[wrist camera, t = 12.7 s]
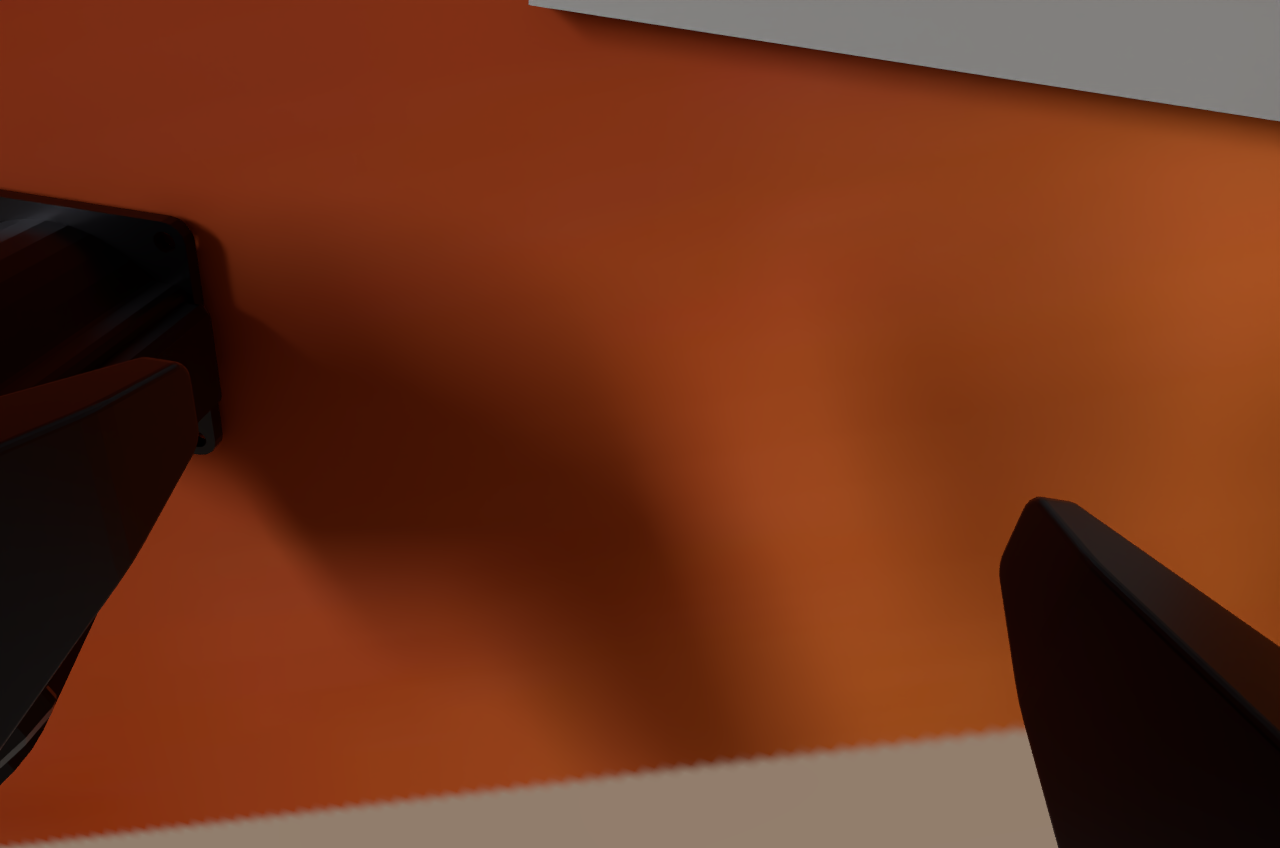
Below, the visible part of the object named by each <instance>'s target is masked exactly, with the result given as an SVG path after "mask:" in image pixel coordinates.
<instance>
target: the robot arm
mask: <svg viewBox="0 0 1280 848" xmlns="http://www.w3.org/2000/svg"><path fill="white" fill-rule="evenodd" d="M163 232H165V233H167V234H169V235H170V236H171V237H172V238H173V240H174V242H175V247H174V246H171V245H169V244H168V243H167V242H166V241H165V239H164V237H163ZM221 397H222V395H221V388H220V381H219V374H218V367H217V360H216V353H215V346H214V339H213V331H212V324H211V317H210V314H209V313H208V311H207V310H206V308H205V307H204V303H203V296H202V289H201V282H200V275H199V268H198V261H197V254H196V248H195V241H194V237H193V234H192V232H191V230H190V229H189V228H188V226H187V225H186V224H185V223H183V222H182V221H181V220H179V219H177V218H174V217H171V216H166V215H160V214H153V213H147V212H141V211H134V210H128V209H121V208H115V207H108V206H102V205H95V204H89V203H83V202H76V201H70V200H63V199H57V198H50V197H44V196H37V195H31V194H25V193H18V192H12V191H5V190H0V785H1V784H2V783H3V782H4V781H5V780H6V779H7V778H8V777H9V776H10V775H11V774H12V773H13V772H14V771H15V770H16V768H17V767H18V766H19V765H20V763H21V762H22V761H23V760H24V758H25V757H26V756H27V755H28V753H29V752H30V751H31V750H32V748H33V747H34V745H35V743H36V742H37V740H38V738H39V736H40V735H41V733H42V731H43V730H44V727H45V725H46V723H47V721H48V719H49V717H50V715H51V713H52V711H53V708H54V706H55V704H56V702H57V699H58V697H59V695H60V693H61V691H62V689H63V687H64V684H65V682H66V680H67V678H68V676H69V674H70V671H71V669H72V667H73V665H74V663H75V661H76V658H77V656H78V654H79V652H80V650H81V648H82V646H83V643H84V641H85V639H86V637H87V635H88V633H89V630H90V628H91V626H92V624H93V622H94V620H95V618H96V615H97V613H98V612H99V610H100V609H101V608H102V606H103V605H104V603H105V602H106V600H107V599H108V598H109V596H110V595H111V593H112V592H113V591H114V589H115V588H116V586H117V585H118V584H119V582H120V581H121V579H122V578H123V576H124V575H125V573H126V572H127V570H128V569H129V567H130V566H131V564H132V563H133V561H134V559H135V558H136V556H137V554H138V553H139V551H140V549H141V548H142V546H143V544H144V543H145V541H146V539H147V537H148V535H149V533H150V532H151V530H152V528H153V526H154V524H155V523H156V521H157V519H158V517H159V515H160V513H161V512H162V510H163V508H164V506H165V504H166V503H167V501H168V499H169V497H170V495H171V493H172V492H173V490H174V488H175V486H176V484H177V483H178V481H179V479H180V477H181V475H182V473H183V472H184V470H185V468H186V466H187V464H188V463H189V461H190V459H191V457H192V455H193V454H199V455H201V454H208V453H210V452H212V451H213V450H214V449H215V448H216V447H217V445H218V444H219V443H220V442H221V440H222V427H221V420H220V413H219V406H218V402H219V401H220V400H221ZM199 432H200V433H201V434H202V435H203V436H204V437H205V439H204V438H201V437H200V436H198V434H199ZM999 576H1000V584H1001V591H1002V598H1003V604H1004V611H1005V618H1006V624H1007V631H1008V638H1009V644H1010V651H1011V658H1012V664H1013V671H1014V678H1015V684H1016V689H1017V694H1018V700H1019V704H1020V708H1021V713H1022V717H1023V721H1024V725H1025V728H1026V732H1027V735H1028V739H1029V743H1030V746H1031V750H1032V754H1033V757H1034V761H1035V764H1036V768H1037V772H1038V775H1039V779H1040V783H1041V786H1042V790H1043V793H1044V797H1045V801H1046V805H1047V808H1048V812H1049V815H1050V819H1051V823H1052V826H1053V830H1054V834H1055V837H1056V841H1057V845H1058V848H1280V647H1279V646H1278V645H1276V644H1275V643H1273V642H1272V641H1270V640H1269V639H1268V638H1266V637H1265V636H1263V635H1262V634H1260V633H1259V632H1258V631H1256V630H1255V629H1253V628H1252V627H1251V626H1249V625H1248V624H1246V623H1245V622H1243V621H1242V620H1241V619H1239V618H1238V617H1236V616H1235V615H1233V614H1232V613H1231V612H1229V611H1228V610H1226V609H1225V608H1223V607H1222V606H1221V605H1219V604H1218V603H1216V602H1215V601H1214V600H1212V599H1211V598H1209V597H1208V596H1206V595H1205V594H1204V593H1202V592H1201V591H1199V590H1198V589H1196V588H1195V587H1194V586H1192V585H1191V584H1189V583H1188V582H1186V581H1185V580H1184V579H1182V578H1181V577H1179V576H1178V575H1177V574H1175V573H1174V572H1172V571H1171V570H1169V569H1168V568H1167V567H1165V566H1164V565H1162V564H1161V563H1159V562H1158V561H1157V560H1155V559H1154V558H1152V557H1151V556H1149V555H1148V554H1147V553H1145V552H1144V551H1142V550H1141V549H1140V548H1138V547H1137V546H1135V545H1134V544H1132V543H1131V542H1130V541H1128V540H1127V539H1125V538H1124V537H1122V536H1121V535H1120V534H1118V533H1117V532H1115V531H1114V530H1112V529H1111V528H1110V527H1108V526H1107V525H1105V524H1104V523H1103V522H1101V521H1100V520H1098V519H1097V518H1095V517H1094V516H1093V515H1091V514H1090V513H1088V512H1087V511H1085V510H1084V509H1083V508H1081V507H1080V506H1078V505H1077V504H1075V503H1073V502H1070V501H1064V500H1058V499H1051V498H1045V497H1036V498H1033V499H1031V500H1030V501H1029V502H1028V503H1027V504H1026V506H1025V507H1024V509H1023V511H1022V513H1021V515H1020V518H1019V520H1018V522H1017V524H1016V526H1015V529H1014V531H1013V533H1012V535H1011V537H1010V539H1009V542H1008V544H1007V546H1006V548H1005V550H1004V553H1003V555H1002V558H1001V562H1000V570H999Z"/></svg>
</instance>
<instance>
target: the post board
mask: <svg viewBox="0 0 1280 848" xmlns="http://www.w3.org/2000/svg"><path fill="white" fill-rule="evenodd" d="M529 5H533V6H539V7H546V8H552V9H558V10H565V11H571V12H578V13H584V14H591V15H597V16H604V17H610V18H617V19H623V20H629V21H636V22H642V23H649V24H655V25H662V26H668V27H675V28H681V29H687V30H694V31H700V32H707V33H713V34H720V35H726V36H733V37H739V38H746V39H752V40H758V41H765V42H771V43H778V44H784V45H791V46H797V47H804V48H810V49H817V50H823V51H829V52H836V53H842V54H849V55H855V56H862V57H868V58H875V59H881V60H888V61H894V62H900V63H907V64H913V65H920V66H926V67H933V68H939V69H946V70H952V71H959V72H965V73H971V74H978V75H984V76H991V77H997V78H1004V79H1010V80H1017V81H1023V82H1030V83H1036V84H1042V85H1049V86H1055V87H1062V88H1068V89H1075V90H1081V91H1088V92H1094V93H1101V94H1107V95H1113V96H1120V97H1126V98H1133V99H1139V100H1146V101H1152V102H1159V103H1165V104H1172V105H1178V106H1184V107H1191V108H1197V109H1204V110H1210V111H1217V112H1223V113H1230V114H1236V115H1243V116H1249V117H1255V118H1262V119H1268V120H1275V121H1280V0H529Z"/></svg>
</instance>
